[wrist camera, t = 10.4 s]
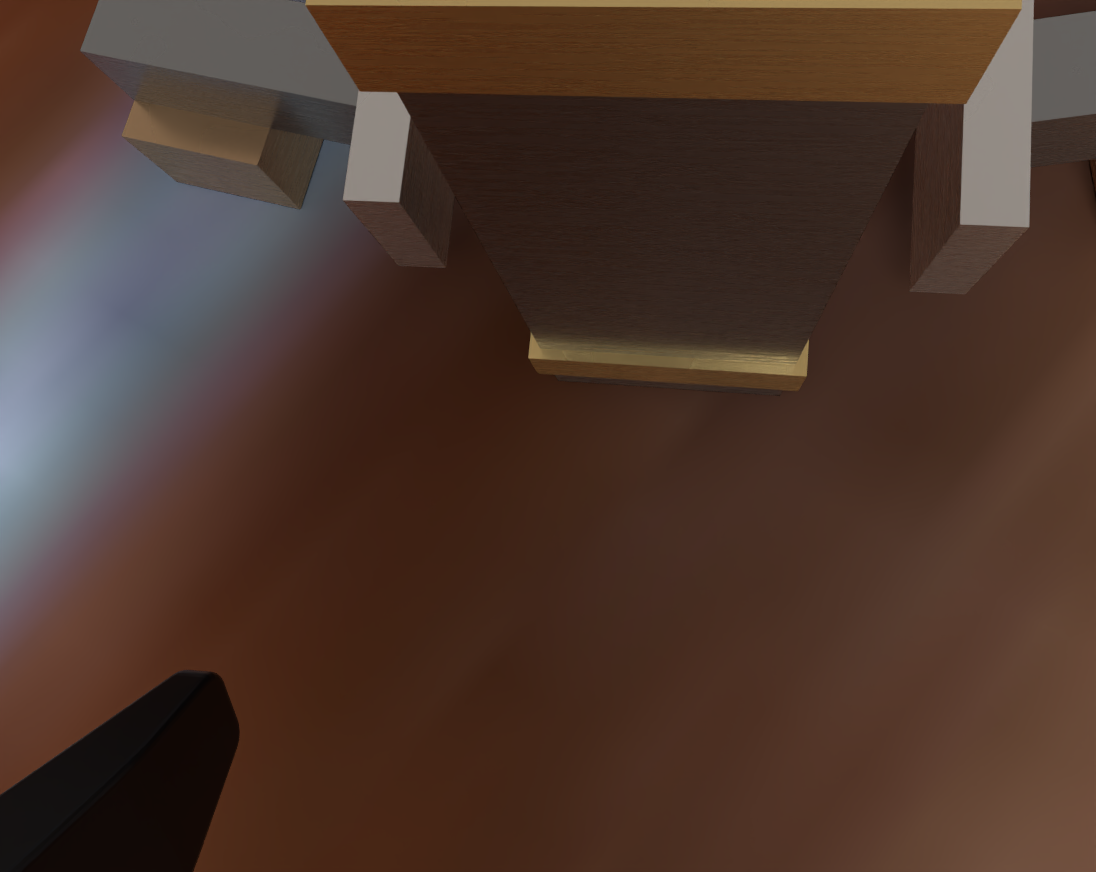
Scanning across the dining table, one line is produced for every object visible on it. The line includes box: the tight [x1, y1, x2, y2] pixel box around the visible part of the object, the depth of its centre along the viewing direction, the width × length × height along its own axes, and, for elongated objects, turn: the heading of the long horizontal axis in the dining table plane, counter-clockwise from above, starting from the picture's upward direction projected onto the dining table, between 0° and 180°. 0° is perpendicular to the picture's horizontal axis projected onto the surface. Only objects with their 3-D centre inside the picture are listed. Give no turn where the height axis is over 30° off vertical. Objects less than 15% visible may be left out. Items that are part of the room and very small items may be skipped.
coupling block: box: [305, 0, 1022, 396], centre depth 13 cm, size 5×5×13 cm
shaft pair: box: [80, 0, 1096, 294], centre depth 18 cm, size 6×23×5 cm, turn 84°
